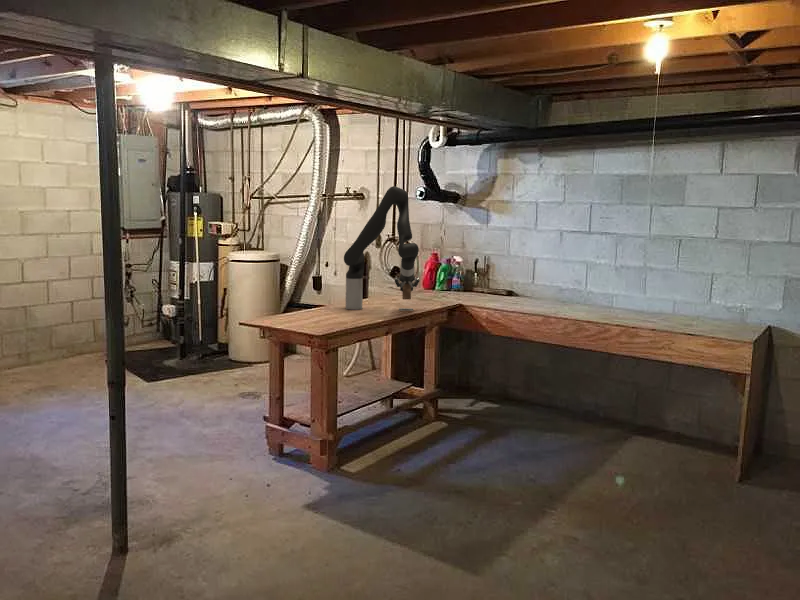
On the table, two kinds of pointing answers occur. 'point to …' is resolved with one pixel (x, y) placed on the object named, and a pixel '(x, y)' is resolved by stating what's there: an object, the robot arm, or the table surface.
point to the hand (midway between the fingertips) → (406, 290)
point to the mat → (406, 309)
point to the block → (406, 291)
